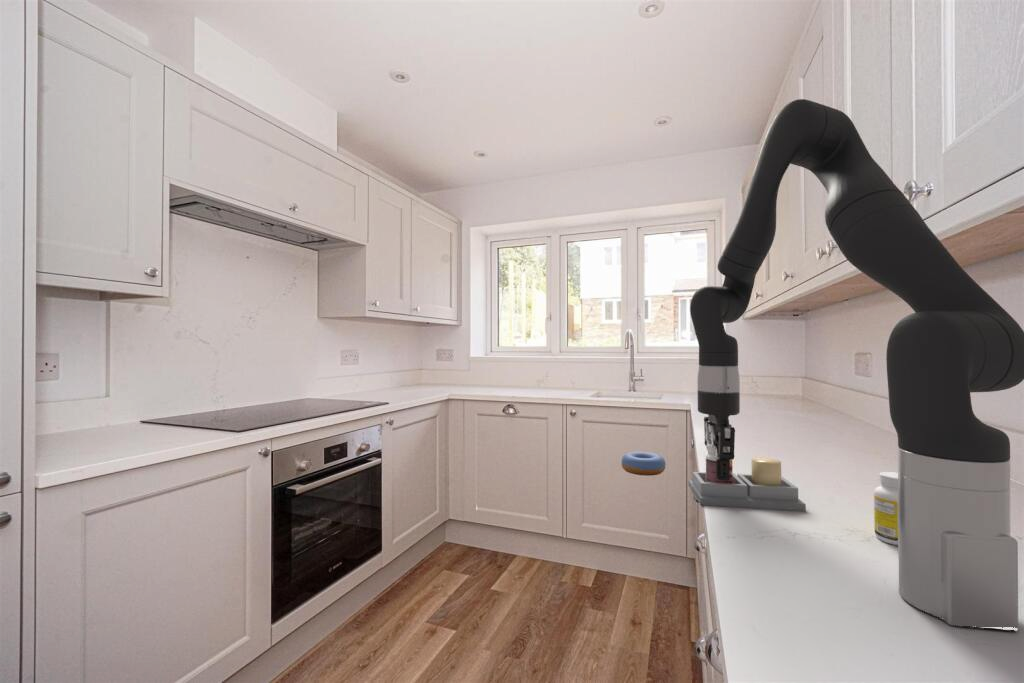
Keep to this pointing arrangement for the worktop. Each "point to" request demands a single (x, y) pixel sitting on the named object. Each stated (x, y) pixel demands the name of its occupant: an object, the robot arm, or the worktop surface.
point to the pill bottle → (714, 467)
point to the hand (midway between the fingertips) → (718, 474)
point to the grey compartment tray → (750, 489)
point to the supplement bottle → (886, 508)
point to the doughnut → (643, 463)
